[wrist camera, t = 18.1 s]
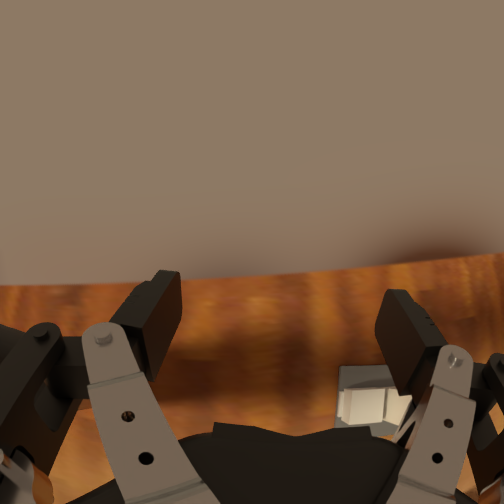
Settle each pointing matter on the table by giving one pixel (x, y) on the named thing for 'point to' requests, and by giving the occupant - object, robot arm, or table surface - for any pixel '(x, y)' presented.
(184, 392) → the table surface
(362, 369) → the rail board
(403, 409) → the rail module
